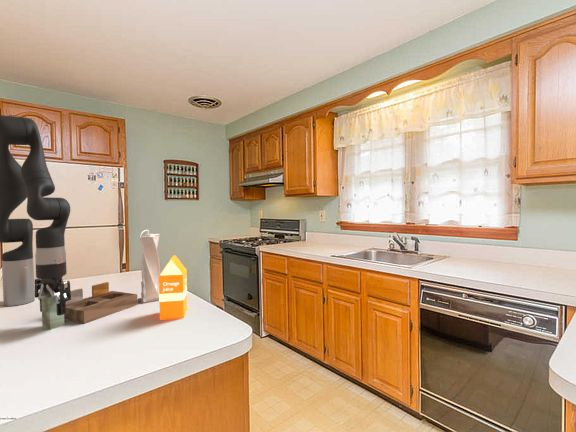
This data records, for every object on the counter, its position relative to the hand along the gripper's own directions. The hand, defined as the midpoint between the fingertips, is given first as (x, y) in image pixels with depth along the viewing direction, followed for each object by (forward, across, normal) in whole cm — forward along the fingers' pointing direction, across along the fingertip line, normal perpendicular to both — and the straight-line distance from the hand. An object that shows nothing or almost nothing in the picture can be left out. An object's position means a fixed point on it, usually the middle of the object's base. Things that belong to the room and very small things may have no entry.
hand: (53, 312), depth 94 cm
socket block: (+4, 0, +15) cm, 16 cm away
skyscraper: (+4, +6, +32) cm, 33 cm away
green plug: (+4, 0, 0) cm, 4 cm away
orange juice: (+5, +28, +22) cm, 36 cm away
